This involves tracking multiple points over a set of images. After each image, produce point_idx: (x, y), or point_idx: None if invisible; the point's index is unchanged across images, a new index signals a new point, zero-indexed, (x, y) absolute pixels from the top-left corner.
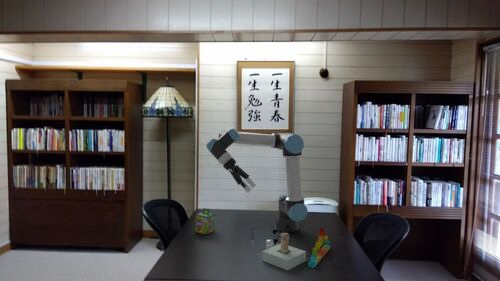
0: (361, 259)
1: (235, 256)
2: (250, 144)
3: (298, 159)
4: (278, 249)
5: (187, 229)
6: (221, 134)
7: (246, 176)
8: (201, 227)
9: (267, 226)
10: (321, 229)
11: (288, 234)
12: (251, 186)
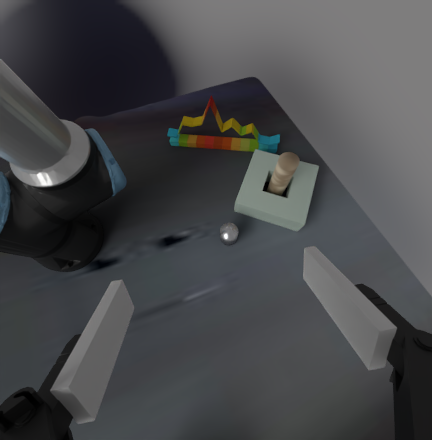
0: (203, 94)
1: (311, 296)
2: None
3: None
4: (275, 197)
5: None
6: None
7: (39, 436)
8: None
9: (62, 297)
10: (211, 101)
11: (286, 152)
12: (128, 318)
